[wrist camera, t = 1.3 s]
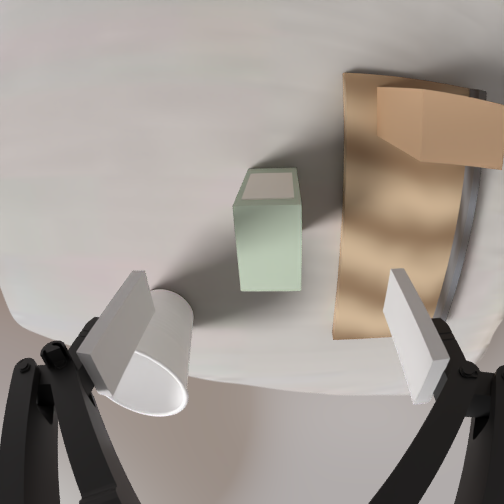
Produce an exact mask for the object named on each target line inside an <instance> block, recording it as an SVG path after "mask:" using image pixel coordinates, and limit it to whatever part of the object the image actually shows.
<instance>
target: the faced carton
mask: <svg viewBox="0 0 504 504" xmlns="http://www.w3.org/2000/svg"><path fill="white" fill-rule="evenodd" d="M377 136H378V137H380V138H382V139H383V140H385V141H387V142H389V143H390V144H392V145H394V146H395V147H397V148H399V149H400V150H402V151H404V152H405V153H407V154H409V155H410V156H412V157H414V158H415V159H417V160H418V161H420V162H431V163H443V164H454V165H464V166H473V167H482V168H490V169H498V170H502V164H503V156H504V105H501V104H498V103H493V102H489V101H485V100H481V99H476V98H471V97H466V96H461V95H456V94H451V93H445V92H439V91H432V90H426V89H414V88H395V87H377Z"/></svg>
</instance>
